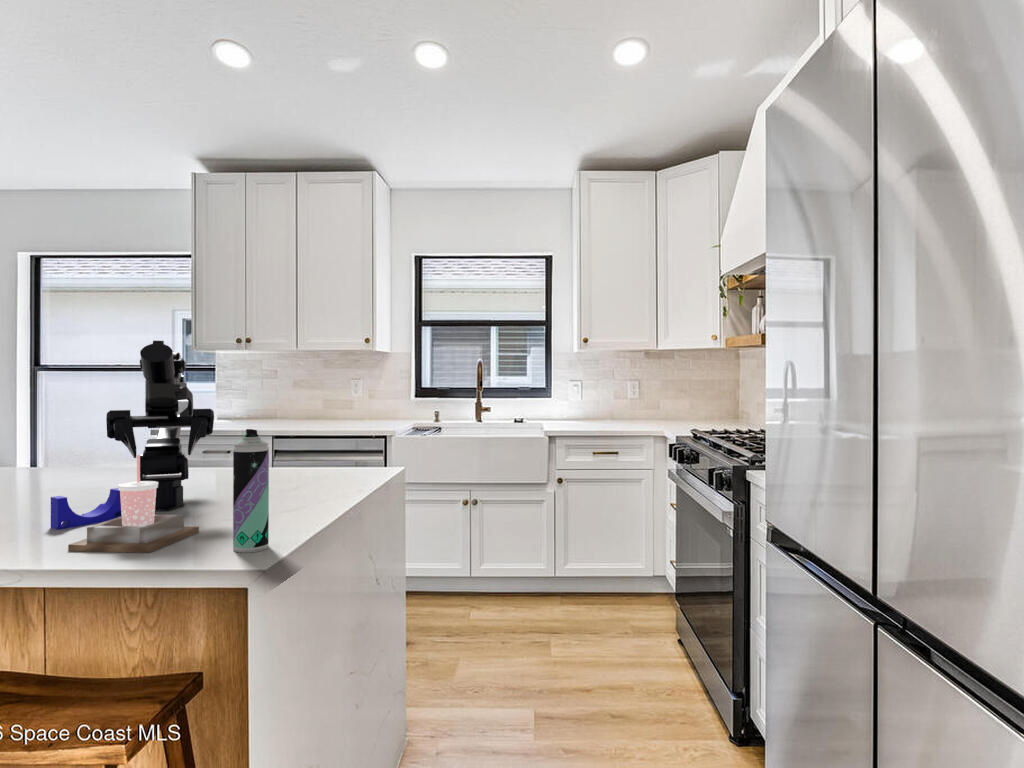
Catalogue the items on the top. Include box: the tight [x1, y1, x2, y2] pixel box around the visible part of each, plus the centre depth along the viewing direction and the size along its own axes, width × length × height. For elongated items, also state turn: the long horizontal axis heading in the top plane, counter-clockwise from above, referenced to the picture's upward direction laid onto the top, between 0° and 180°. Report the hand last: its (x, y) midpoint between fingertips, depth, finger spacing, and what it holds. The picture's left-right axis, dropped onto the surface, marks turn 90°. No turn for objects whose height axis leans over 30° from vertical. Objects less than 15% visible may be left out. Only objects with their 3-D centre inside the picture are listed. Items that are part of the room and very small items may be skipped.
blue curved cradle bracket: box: [50, 487, 122, 531], centre depth 123 cm, size 12×4×6 cm, turn 148°
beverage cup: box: [117, 454, 158, 527], centre depth 108 cm, size 6×6×14 cm
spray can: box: [232, 428, 270, 554], centre depth 104 cm, size 6×6×20 cm
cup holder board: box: [67, 513, 200, 554], centre depth 108 cm, size 14×14×4 cm
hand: (162, 455), depth 120 cm, fingers open, 9 cm apart
